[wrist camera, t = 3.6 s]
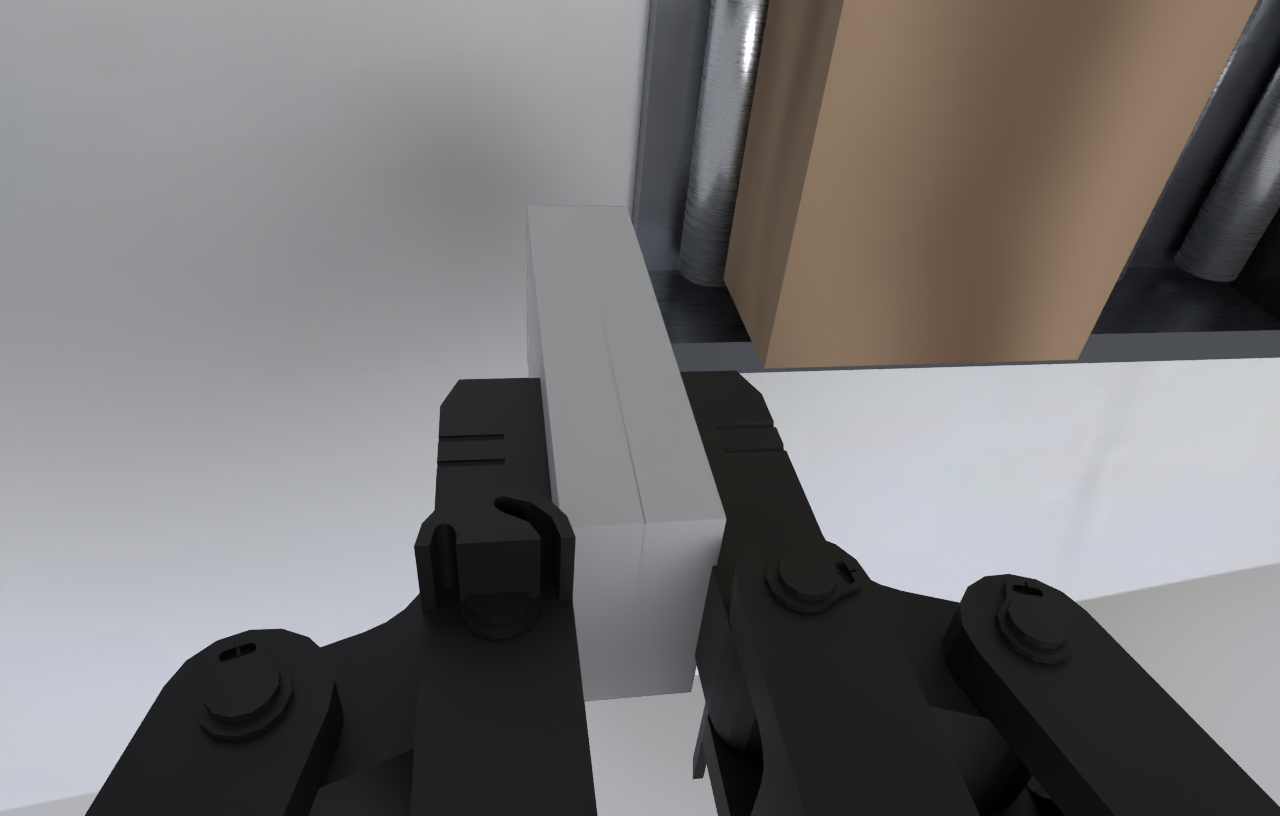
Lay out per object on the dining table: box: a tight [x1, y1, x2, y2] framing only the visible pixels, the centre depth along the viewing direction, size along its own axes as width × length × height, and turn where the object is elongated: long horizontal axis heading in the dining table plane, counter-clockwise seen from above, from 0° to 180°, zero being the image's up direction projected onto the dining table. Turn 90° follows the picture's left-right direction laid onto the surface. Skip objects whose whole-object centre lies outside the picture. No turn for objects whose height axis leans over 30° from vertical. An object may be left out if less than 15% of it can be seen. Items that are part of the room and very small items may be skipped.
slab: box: [723, 0, 1258, 368], centre depth 19 cm, size 8×9×4 cm
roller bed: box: [632, 0, 1280, 373], centre depth 20 cm, size 20×13×8 cm, turn 86°
